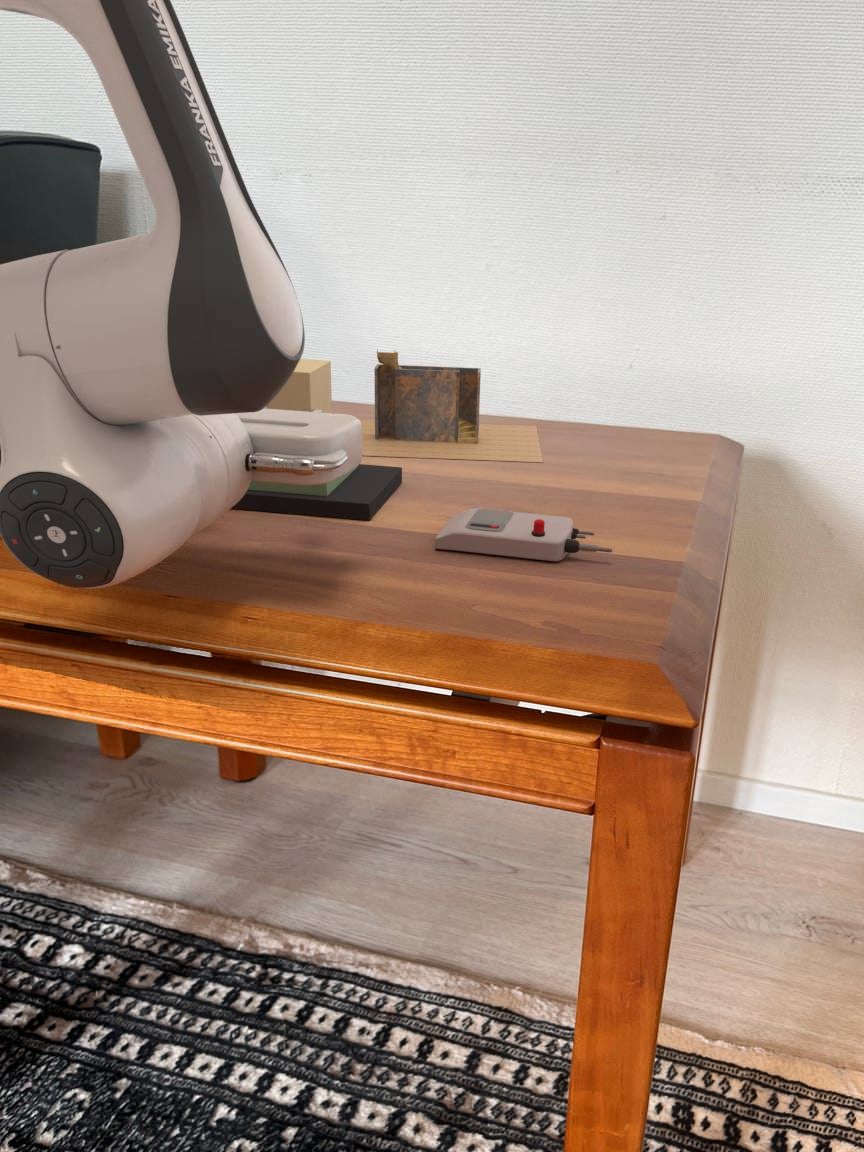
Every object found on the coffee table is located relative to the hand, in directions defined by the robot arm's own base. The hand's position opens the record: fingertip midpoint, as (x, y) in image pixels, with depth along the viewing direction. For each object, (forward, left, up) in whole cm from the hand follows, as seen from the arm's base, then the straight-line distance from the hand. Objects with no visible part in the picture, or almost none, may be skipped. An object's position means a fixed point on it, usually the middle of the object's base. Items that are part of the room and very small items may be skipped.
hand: (256, 415), depth 80 cm
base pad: (+3, +9, -9) cm, 13 cm away
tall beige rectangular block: (+3, +9, -8) cm, 12 cm away
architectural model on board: (+17, +29, -9) cm, 35 cm away
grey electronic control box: (+20, -6, -9) cm, 23 cm away
